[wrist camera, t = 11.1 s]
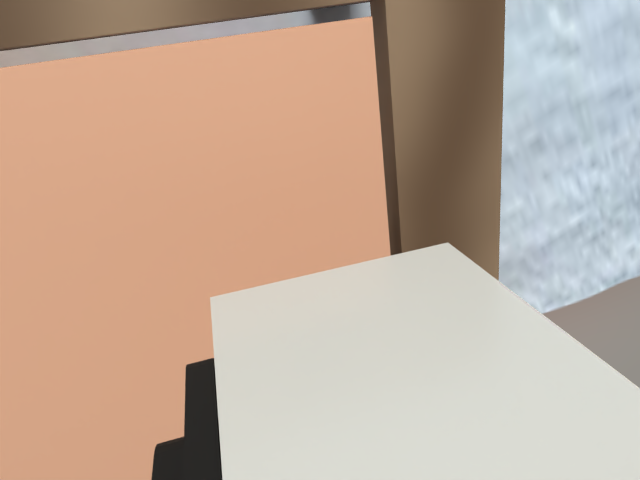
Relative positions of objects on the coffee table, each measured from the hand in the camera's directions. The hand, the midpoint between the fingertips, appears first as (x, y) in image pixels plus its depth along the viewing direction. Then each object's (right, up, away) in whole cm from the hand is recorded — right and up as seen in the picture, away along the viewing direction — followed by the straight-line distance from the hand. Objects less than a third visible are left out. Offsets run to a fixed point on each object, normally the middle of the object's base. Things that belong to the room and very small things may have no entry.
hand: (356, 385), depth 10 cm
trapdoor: (-9, +2, +8) cm, 12 cm away
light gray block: (0, 0, +1) cm, 1 cm away
